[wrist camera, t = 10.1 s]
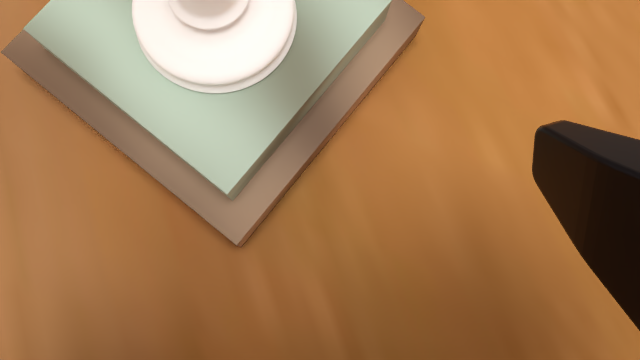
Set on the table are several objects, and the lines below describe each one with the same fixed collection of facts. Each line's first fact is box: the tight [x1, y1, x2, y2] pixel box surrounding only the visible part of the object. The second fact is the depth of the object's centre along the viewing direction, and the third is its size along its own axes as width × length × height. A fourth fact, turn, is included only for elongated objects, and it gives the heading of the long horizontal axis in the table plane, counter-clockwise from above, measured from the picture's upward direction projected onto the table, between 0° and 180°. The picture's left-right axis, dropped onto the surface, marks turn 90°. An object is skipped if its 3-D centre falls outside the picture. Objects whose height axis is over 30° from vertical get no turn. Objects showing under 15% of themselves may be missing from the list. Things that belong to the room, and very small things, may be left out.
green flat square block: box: [1, 0, 425, 247], centre depth 18 cm, size 10×10×3 cm
